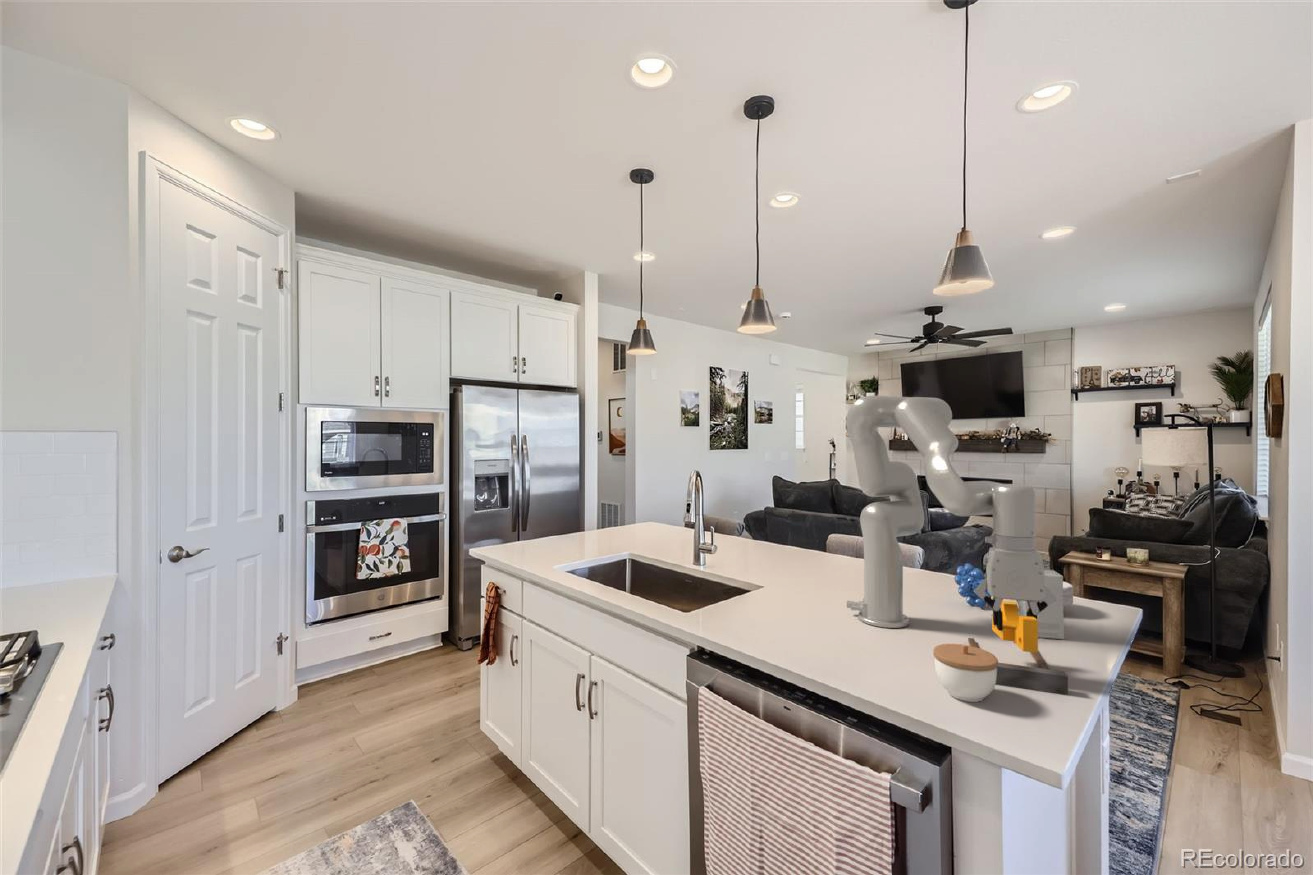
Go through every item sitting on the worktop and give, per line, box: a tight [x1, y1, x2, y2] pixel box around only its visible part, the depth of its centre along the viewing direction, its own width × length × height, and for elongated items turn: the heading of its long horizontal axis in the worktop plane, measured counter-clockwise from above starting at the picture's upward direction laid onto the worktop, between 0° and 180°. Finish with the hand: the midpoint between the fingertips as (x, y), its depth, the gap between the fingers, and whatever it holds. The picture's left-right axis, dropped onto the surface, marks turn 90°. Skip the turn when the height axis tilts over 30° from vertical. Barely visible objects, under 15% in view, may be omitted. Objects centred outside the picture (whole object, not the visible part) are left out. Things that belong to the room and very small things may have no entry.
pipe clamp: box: [991, 600, 1039, 653], centre depth 116 cm, size 12×4×6 cm, turn 166°
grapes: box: [954, 563, 992, 609], centre depth 159 cm, size 12×7×12 cm, turn 19°
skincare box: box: [1017, 569, 1065, 640], centre depth 136 cm, size 8×7×16 cm
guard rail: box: [967, 637, 1069, 696], centre depth 118 cm, size 14×24×4 cm, turn 157°
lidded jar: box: [933, 643, 999, 703], centre depth 105 cm, size 11×11×9 cm
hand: (1014, 629), depth 115 cm, fingers closed on pipe clamp, 4 cm apart
